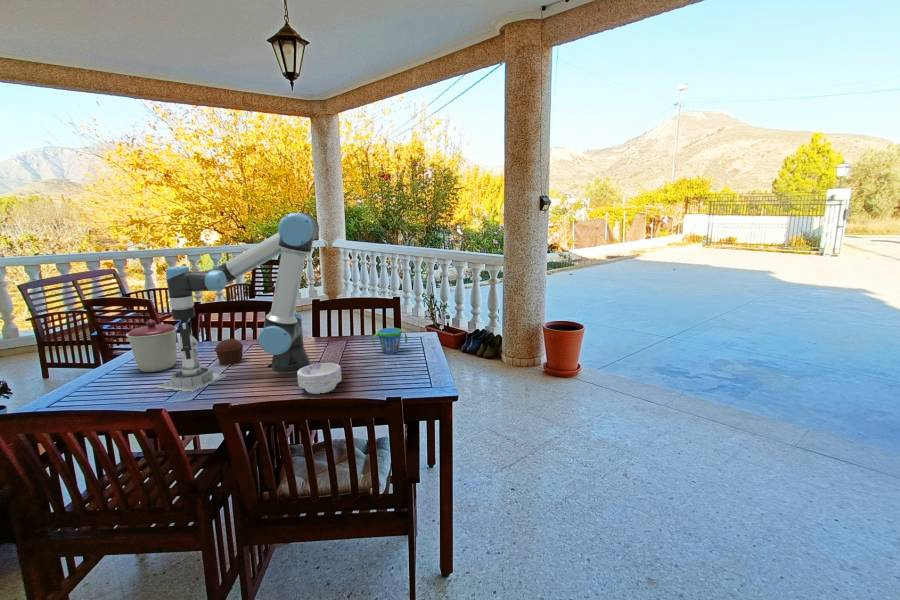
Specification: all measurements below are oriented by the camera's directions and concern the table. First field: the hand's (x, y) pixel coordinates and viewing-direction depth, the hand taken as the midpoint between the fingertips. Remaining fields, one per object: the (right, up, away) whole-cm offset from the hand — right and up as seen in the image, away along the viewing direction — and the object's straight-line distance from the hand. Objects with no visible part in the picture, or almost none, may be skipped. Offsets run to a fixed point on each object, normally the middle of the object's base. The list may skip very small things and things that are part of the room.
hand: (190, 361), depth 169 cm
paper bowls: (+52, -9, -8) cm, 54 cm away
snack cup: (+72, 0, +34) cm, 80 cm away
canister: (-25, -6, +19) cm, 32 cm away
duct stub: (0, -8, +2) cm, 8 cm away
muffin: (+3, -4, +25) cm, 26 cm away
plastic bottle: (0, -7, +1) cm, 7 cm away
